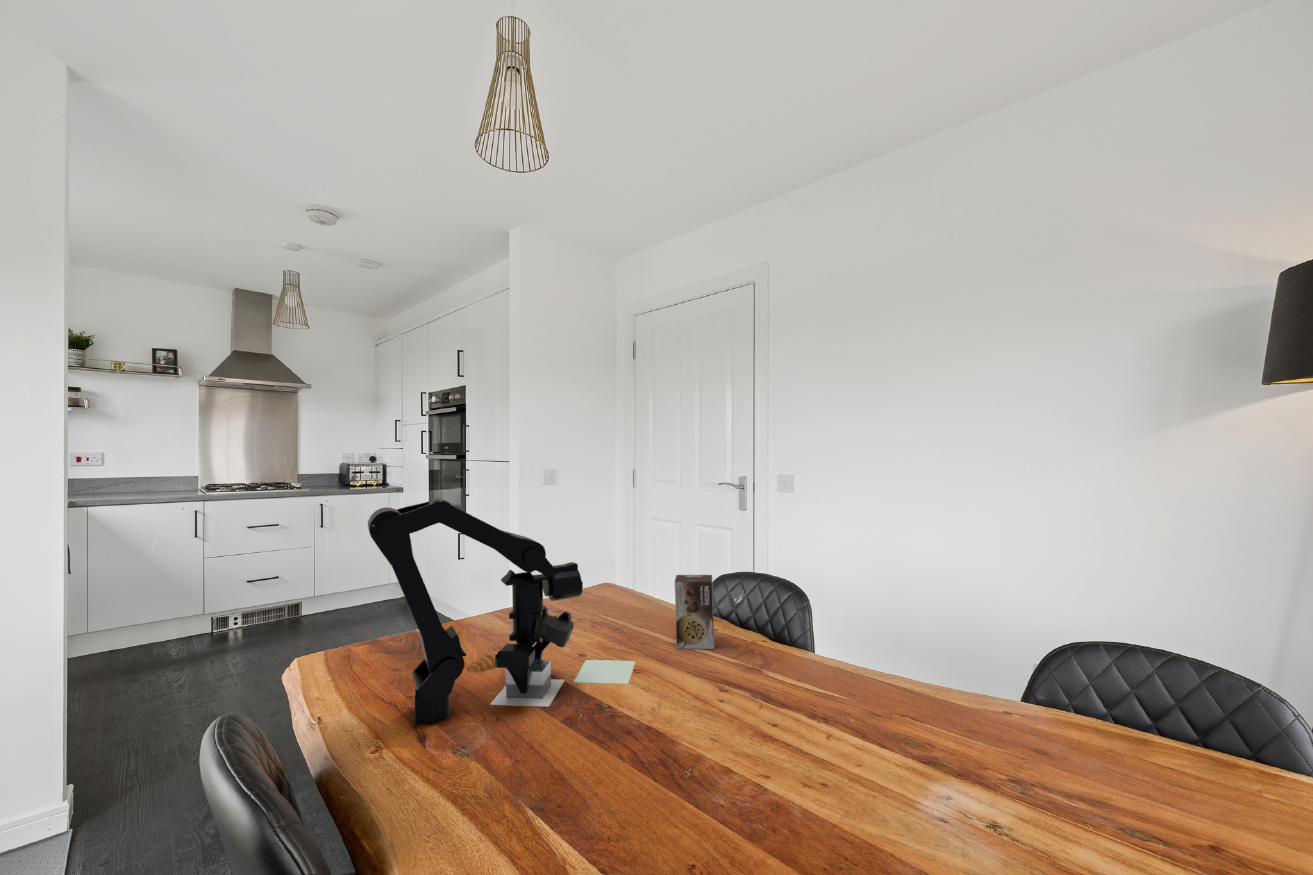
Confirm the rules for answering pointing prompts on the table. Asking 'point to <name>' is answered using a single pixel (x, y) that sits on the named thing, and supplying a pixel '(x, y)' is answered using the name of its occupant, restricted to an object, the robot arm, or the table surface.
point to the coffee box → (694, 612)
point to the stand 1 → (545, 701)
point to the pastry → (483, 662)
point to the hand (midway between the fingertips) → (529, 686)
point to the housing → (532, 681)
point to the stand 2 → (605, 672)
